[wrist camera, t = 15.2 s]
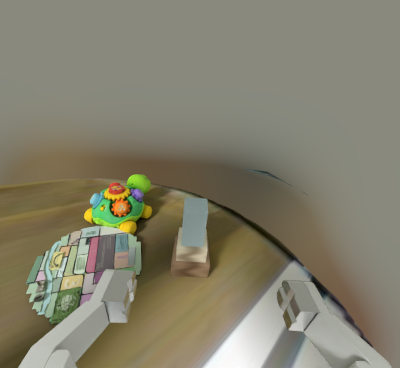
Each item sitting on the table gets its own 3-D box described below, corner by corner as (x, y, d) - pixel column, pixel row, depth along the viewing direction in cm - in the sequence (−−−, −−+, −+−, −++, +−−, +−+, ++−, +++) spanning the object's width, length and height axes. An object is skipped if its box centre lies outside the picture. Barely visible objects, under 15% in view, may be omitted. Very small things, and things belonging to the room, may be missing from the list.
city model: (24, 369, 30) (11, 357, 27) (18, 259, 44) (8, 242, 41) (161, 285, 45) (163, 271, 42) (125, 222, 59) (124, 207, 56)
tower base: (170, 275, 45) (171, 251, 41) (174, 246, 53) (175, 224, 49) (207, 277, 45) (212, 254, 41) (206, 248, 53) (210, 226, 49)
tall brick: (181, 245, 43) (183, 210, 38) (182, 230, 47) (185, 197, 42) (202, 247, 43) (208, 212, 38) (202, 231, 47) (207, 198, 43)
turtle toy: (165, 202, 71) (165, 175, 65) (125, 246, 51) (120, 212, 45) (127, 192, 75) (124, 164, 69) (76, 228, 55) (66, 195, 49)
